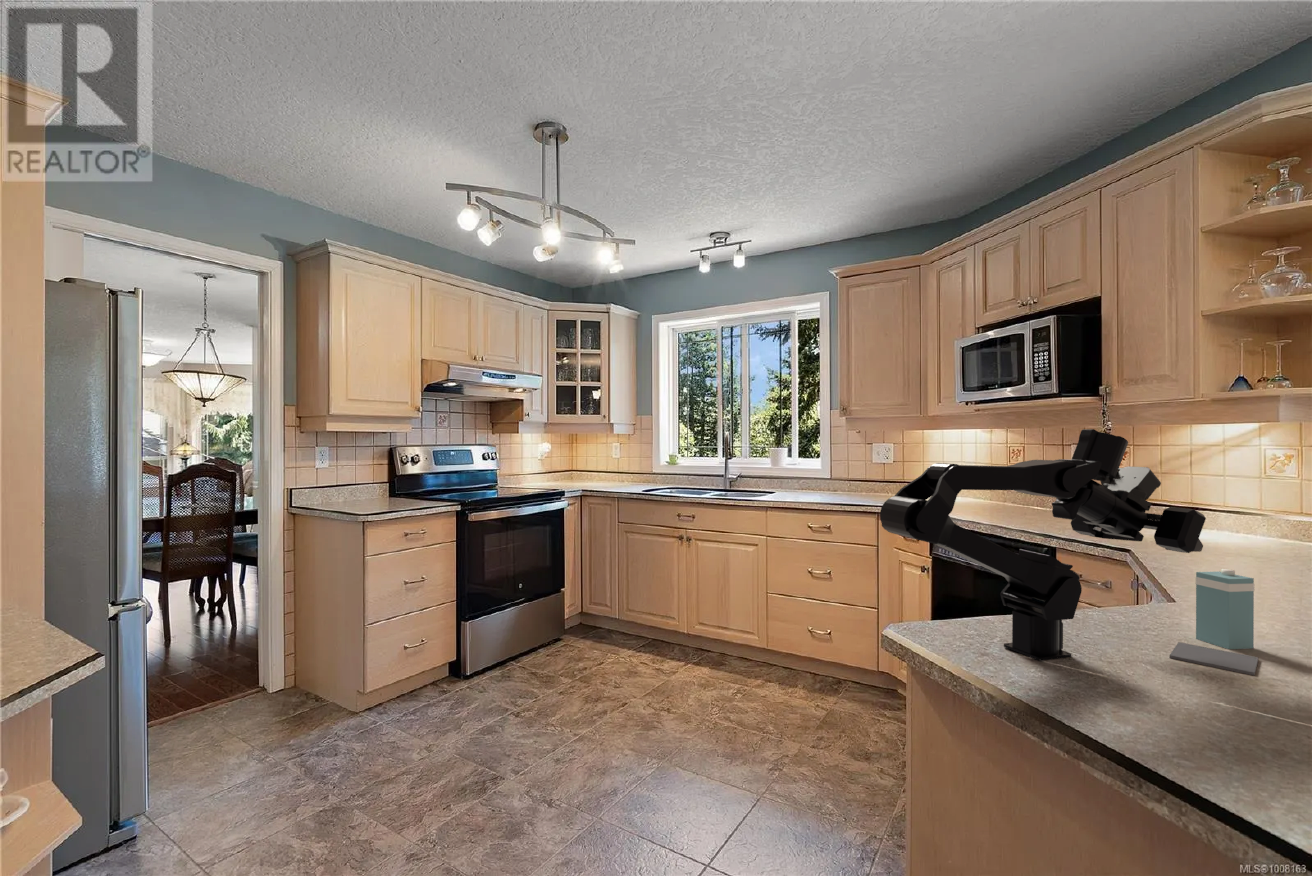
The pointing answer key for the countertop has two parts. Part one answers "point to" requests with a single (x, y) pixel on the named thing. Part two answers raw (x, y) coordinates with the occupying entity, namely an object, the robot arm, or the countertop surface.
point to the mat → (1215, 658)
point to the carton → (1225, 609)
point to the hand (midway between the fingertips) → (1170, 543)
